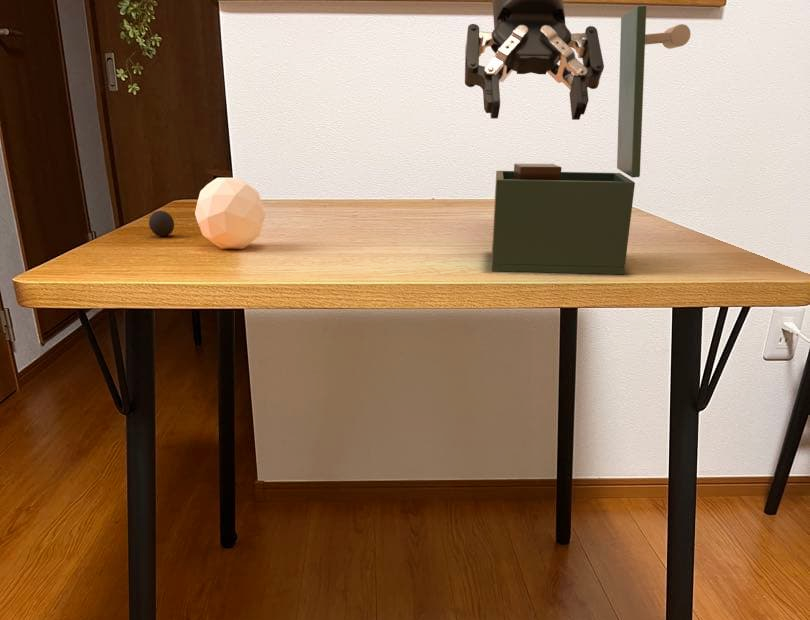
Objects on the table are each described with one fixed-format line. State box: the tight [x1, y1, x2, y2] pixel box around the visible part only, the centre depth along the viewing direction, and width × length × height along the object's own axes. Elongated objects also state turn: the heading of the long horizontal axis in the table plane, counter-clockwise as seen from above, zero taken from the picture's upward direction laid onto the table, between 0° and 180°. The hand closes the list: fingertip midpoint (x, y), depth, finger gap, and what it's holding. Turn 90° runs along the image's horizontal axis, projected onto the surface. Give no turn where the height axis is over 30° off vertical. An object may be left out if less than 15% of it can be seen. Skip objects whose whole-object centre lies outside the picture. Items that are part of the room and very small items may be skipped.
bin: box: [491, 170, 636, 275], centre depth 93 cm, size 13×11×9 cm
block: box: [513, 163, 562, 180], centre depth 92 cm, size 4×4×9 cm
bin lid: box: [616, 4, 691, 179], centre depth 86 cm, size 14×11×5 cm
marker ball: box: [148, 210, 175, 237], centre depth 108 cm, size 3×3×3 cm
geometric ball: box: [194, 177, 266, 250], centre depth 100 cm, size 8×8×8 cm
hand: (537, 113), depth 90 cm, fingers open, 8 cm apart
